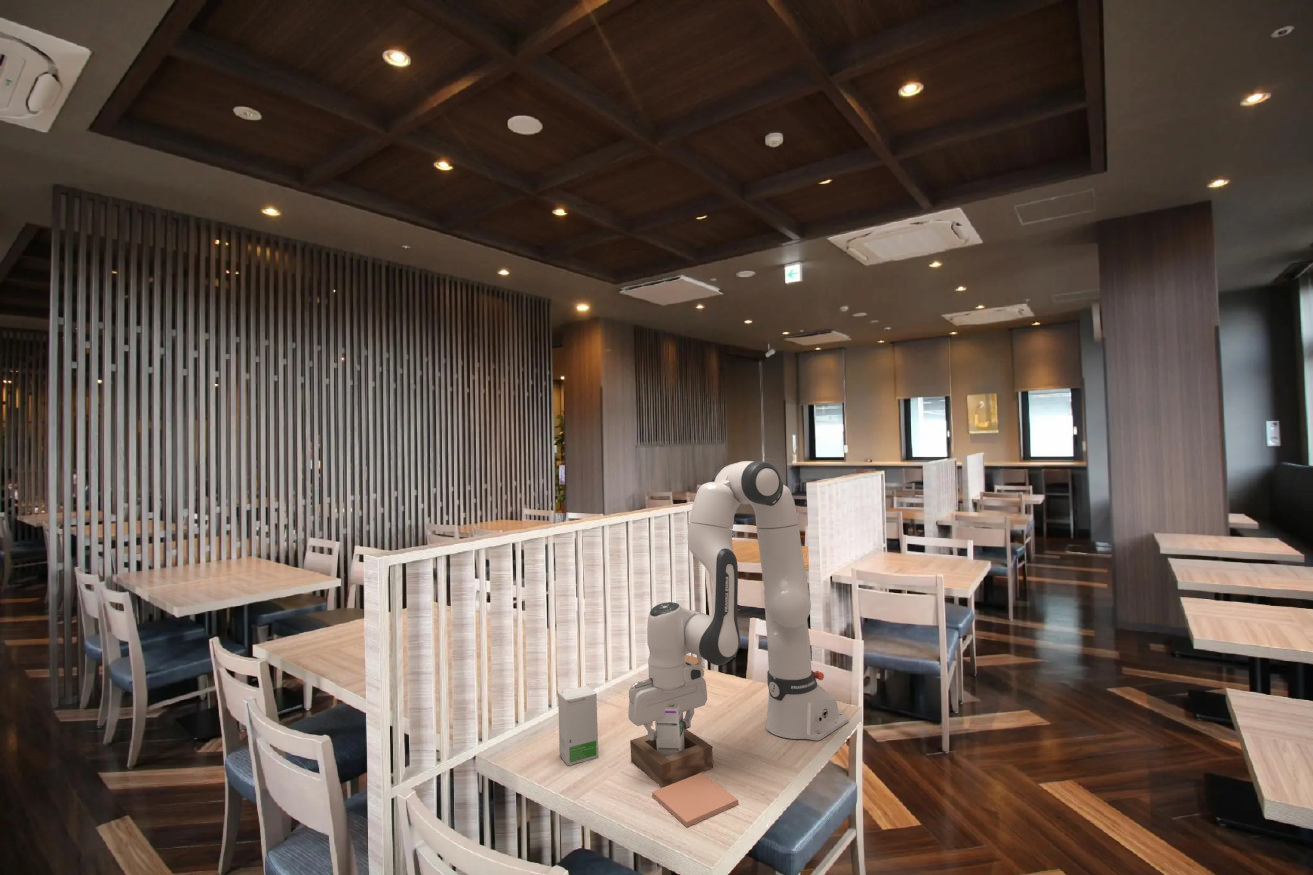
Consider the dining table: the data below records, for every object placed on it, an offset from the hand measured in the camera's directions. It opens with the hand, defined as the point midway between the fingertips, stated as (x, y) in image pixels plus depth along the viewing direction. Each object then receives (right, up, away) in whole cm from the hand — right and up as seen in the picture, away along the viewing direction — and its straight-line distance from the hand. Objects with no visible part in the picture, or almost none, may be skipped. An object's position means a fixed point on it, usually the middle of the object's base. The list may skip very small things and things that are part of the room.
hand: (669, 733), depth 142 cm
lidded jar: (+5, -9, +47) cm, 48 cm away
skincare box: (-22, -9, +6) cm, 24 cm away
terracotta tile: (+5, -7, -15) cm, 17 cm away
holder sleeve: (0, -7, 0) cm, 7 cm away
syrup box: (0, -8, 0) cm, 8 cm away
